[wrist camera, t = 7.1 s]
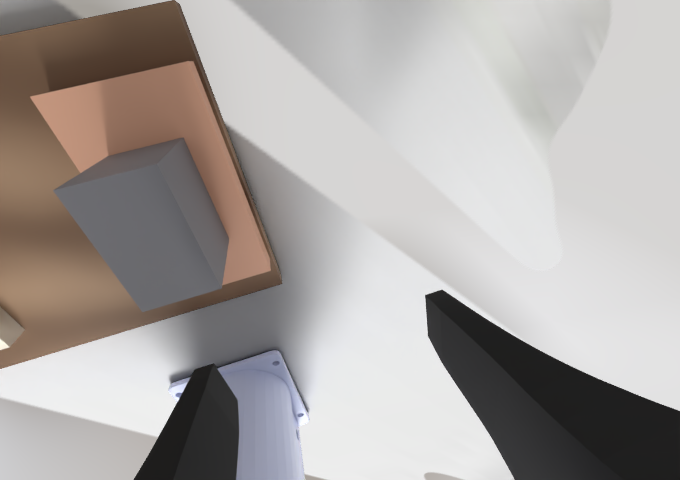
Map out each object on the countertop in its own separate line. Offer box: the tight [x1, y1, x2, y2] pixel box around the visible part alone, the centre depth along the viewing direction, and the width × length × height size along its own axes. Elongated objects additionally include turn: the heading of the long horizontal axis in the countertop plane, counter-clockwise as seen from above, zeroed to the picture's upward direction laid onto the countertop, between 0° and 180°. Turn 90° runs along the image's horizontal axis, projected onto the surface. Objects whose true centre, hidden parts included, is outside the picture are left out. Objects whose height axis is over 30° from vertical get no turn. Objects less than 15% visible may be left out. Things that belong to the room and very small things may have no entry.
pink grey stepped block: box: [30, 61, 271, 312], centre depth 13 cm, size 10×6×5 cm, turn 11°
